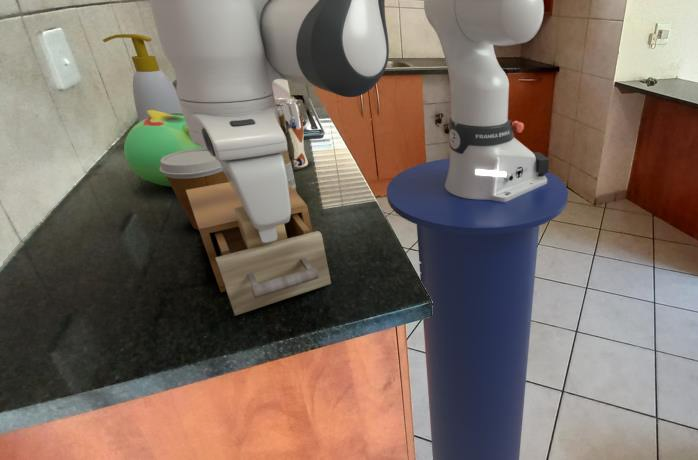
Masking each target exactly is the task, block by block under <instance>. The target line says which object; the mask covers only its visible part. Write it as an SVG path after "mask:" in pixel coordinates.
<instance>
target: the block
mask: <svg viewBox="0 0 698 460" xmlns="http://www.w3.org/2000/svg"><path fill="white" fill-rule="evenodd" d="M234 210H235V214H236V217H237V221H238V224H239V227H240V231H241V234H242V238H243V240H244V242H245V244H246V246H247V248H248V249H250V248H254V247H258V246H261V245H265V244H269V243H273V242H277V241H281V240H285V239H287V234H286V230H285V226H284V224H281V225H277V226H275V228H276V232H277V239H276V240H275V241H272V242H268V243H263V242H262V241H261V240H260V238H259V235H258V232H257V229H256V228H255V227H254V226H253V225H252V223H251V221H250V219H249V217H248V215H247V213H246V212H245V210H244V208H243V207H239V208H234Z"/></svg>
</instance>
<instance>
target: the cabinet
mask: <svg viewBox="0 0 698 460" xmlns="http://www.w3.org/2000/svg"><path fill="white" fill-rule="evenodd" d="M288 189H289V197H290V205H291V214H295V213H297V214H298V216H299V217H300V218H301V220H302V221H303V222H304V223H305V225H306V226H307V227H308V229H309V230H310V233H312V232H313V228H312V223H311V217H310V213H309V208H308V204H307V202H305V201H304V199H303V198H302V197H301V196H300V195H299V194H298V192H297V193H296V192H295V190H294V189H293V188H292V187H291V186H290V185H289V183H288ZM186 193H187V195H188V198H189V201H190V204H191V207H192V210H193V213H194V216H195V219H196V222H197V225H198V228H199V230H198V231H199V234H200V237H201V240H202V243H203V246H204V248H205V251H206V254H207V257H208V259H209V264H210V266H211V268H212V272H213V275H214V277H215V280H216V283H217V286H218V289H219V292H220V293H224V292H227V291H226V288H225V285H224V282H223V280H222V277H221V274H220V271H219V268H218V265H217V262H216V259H215V258H216V257H219V256H221V255H220V252H219V249H218V246H217V243H216V240H215V237H214V234H213V232H217V231H221V230H226V229H230V228H234V227H239V224H238V221H237V217H236V214H235V210H234V208H239V207H243V206H242V204H241V203H240V201H239V199H238V197H237V196H236V194H235V192H234V190H233V188H232V187H231V185H230V183H229V182H227V183H222V184H216V185H210V186H205V187H199V188H193V189H187V190H186Z"/></svg>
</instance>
